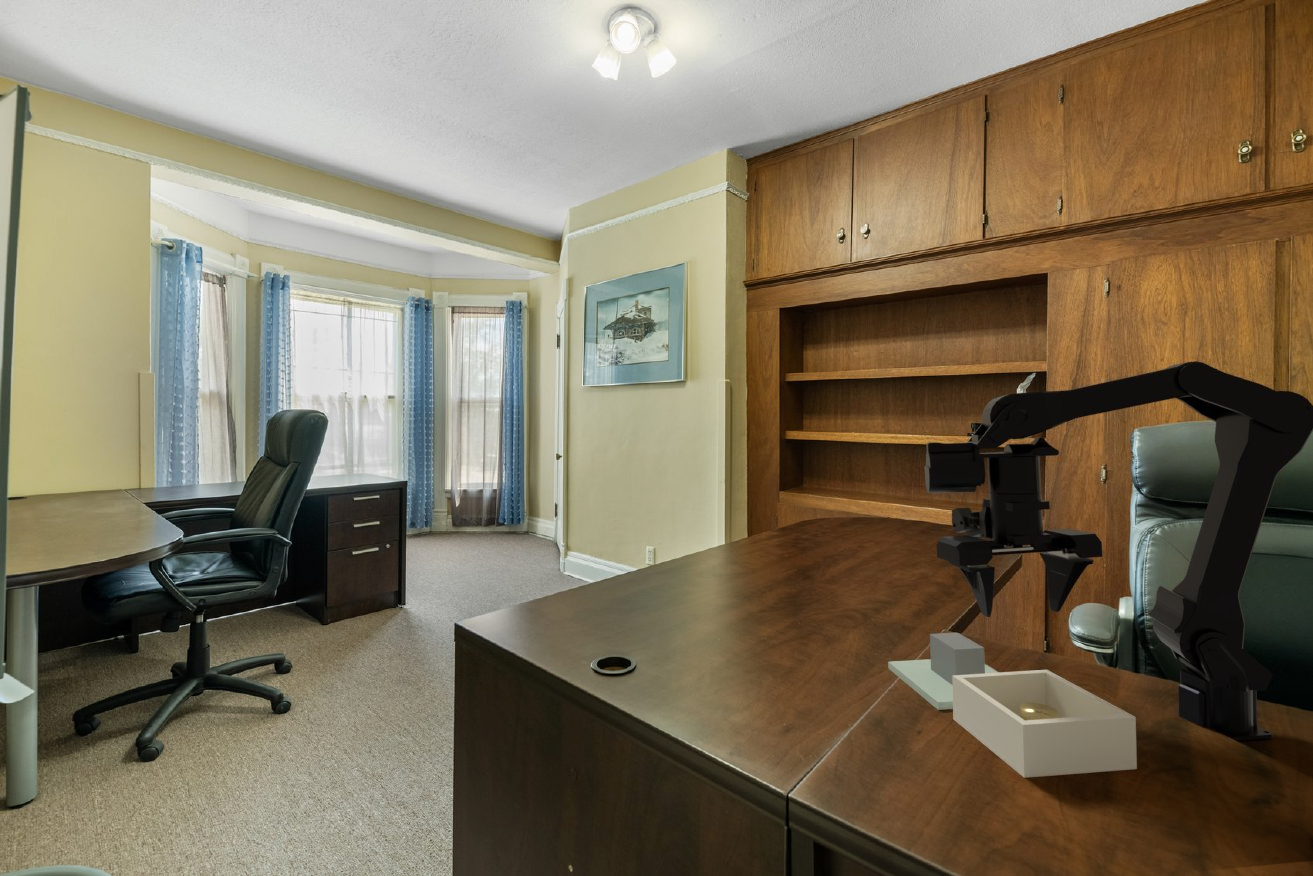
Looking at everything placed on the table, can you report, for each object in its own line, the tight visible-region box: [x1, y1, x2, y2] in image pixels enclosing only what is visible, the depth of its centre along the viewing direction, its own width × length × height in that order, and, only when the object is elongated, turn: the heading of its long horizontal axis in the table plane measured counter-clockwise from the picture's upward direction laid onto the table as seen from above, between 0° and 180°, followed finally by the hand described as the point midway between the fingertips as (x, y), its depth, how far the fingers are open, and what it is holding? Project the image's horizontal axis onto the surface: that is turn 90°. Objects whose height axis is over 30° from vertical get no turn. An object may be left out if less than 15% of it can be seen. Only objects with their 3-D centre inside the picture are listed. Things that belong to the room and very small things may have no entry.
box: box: [952, 669, 1138, 779], centre depth 64 cm, size 12×12×6 cm
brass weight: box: [1020, 702, 1058, 720], centre depth 66 cm, size 4×4×3 cm
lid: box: [887, 632, 1000, 711], centre depth 79 cm, size 13×13×7 cm
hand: (1020, 613), depth 75 cm, fingers open, 9 cm apart
